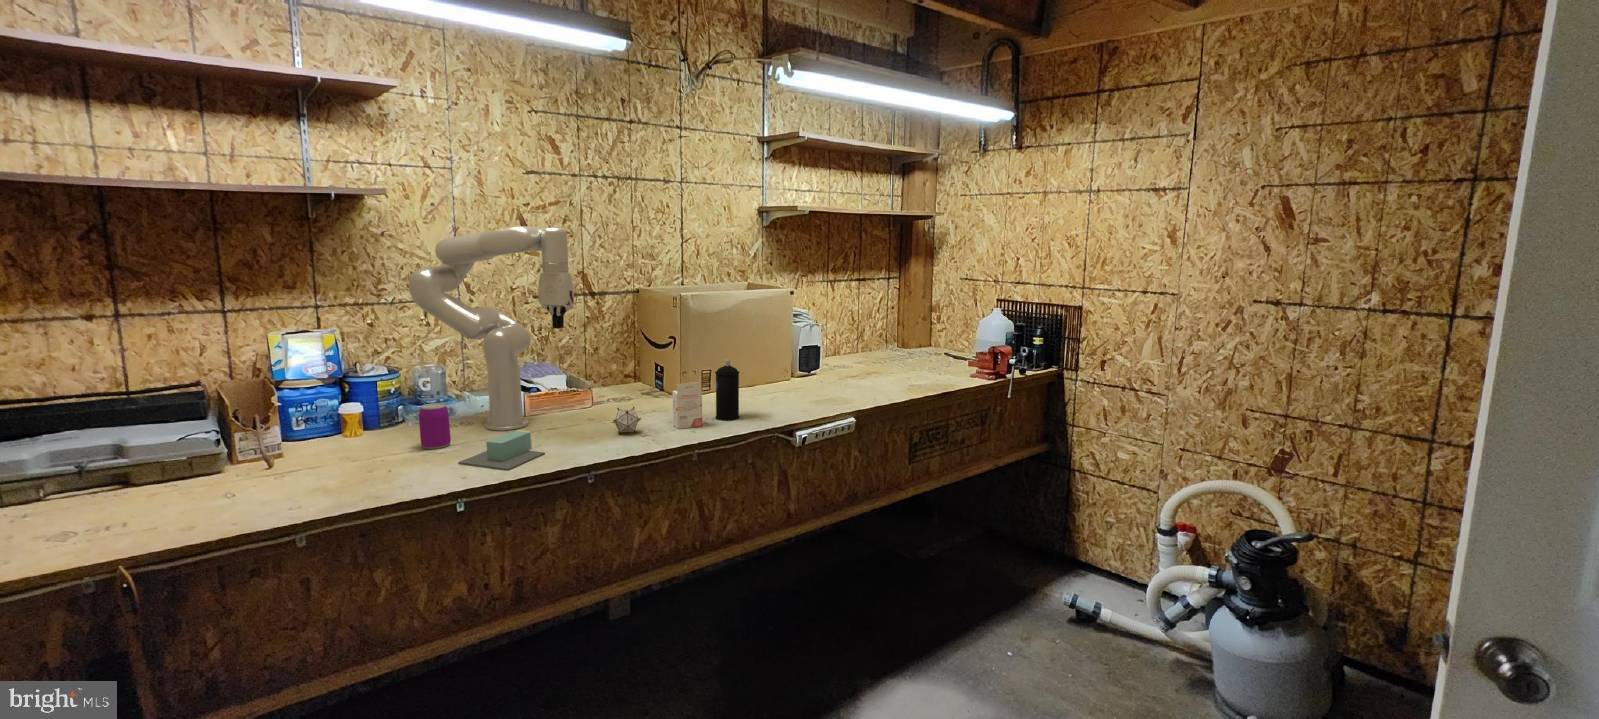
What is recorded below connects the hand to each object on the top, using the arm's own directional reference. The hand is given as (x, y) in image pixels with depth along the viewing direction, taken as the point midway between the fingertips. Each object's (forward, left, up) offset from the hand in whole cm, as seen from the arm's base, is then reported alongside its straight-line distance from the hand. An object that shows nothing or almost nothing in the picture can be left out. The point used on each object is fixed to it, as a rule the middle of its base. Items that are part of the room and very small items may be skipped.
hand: (558, 327), depth 221 cm
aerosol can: (+44, +30, -32) cm, 62 cm away
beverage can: (-22, -29, -32) cm, 49 cm away
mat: (+4, -32, -32) cm, 46 cm away
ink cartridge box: (+36, +16, -32) cm, 51 cm away
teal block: (+4, -23, -29) cm, 38 cm away
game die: (+22, +2, -32) cm, 39 cm away
